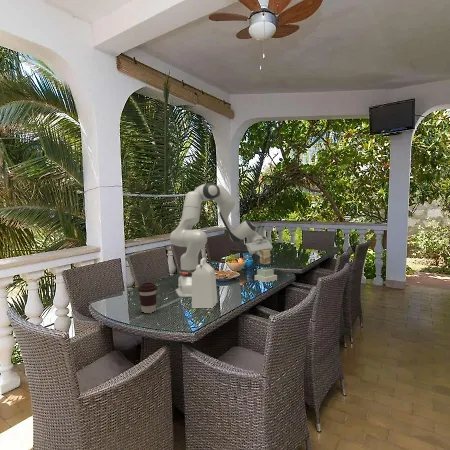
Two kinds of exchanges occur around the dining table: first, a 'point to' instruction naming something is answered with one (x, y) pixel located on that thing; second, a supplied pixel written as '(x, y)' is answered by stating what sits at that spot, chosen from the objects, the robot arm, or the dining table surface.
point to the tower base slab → (266, 278)
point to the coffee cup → (147, 297)
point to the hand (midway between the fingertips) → (265, 256)
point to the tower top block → (265, 272)
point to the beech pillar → (265, 257)
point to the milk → (204, 286)
